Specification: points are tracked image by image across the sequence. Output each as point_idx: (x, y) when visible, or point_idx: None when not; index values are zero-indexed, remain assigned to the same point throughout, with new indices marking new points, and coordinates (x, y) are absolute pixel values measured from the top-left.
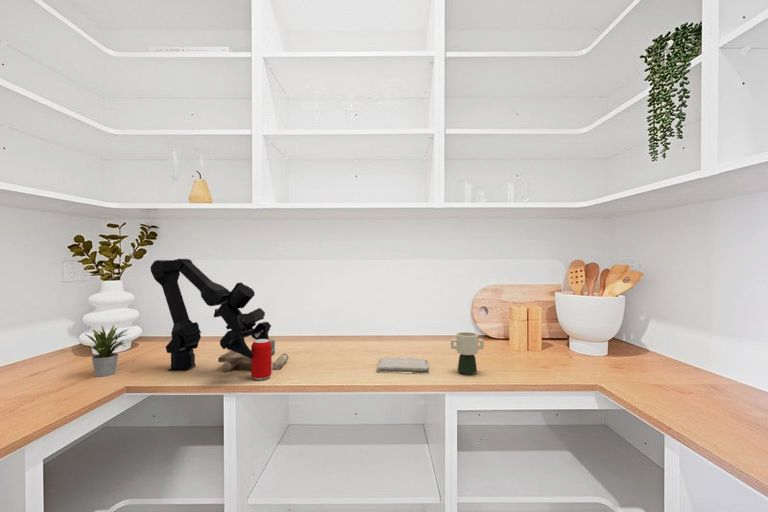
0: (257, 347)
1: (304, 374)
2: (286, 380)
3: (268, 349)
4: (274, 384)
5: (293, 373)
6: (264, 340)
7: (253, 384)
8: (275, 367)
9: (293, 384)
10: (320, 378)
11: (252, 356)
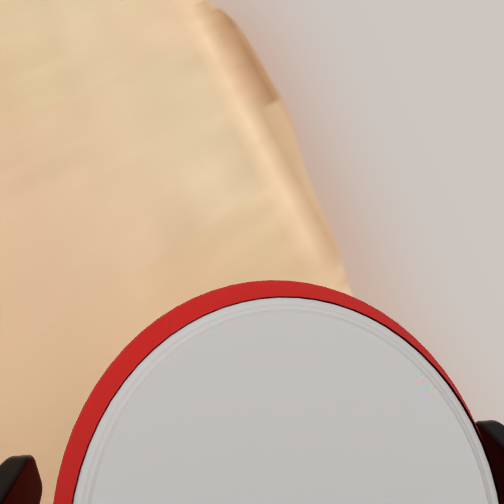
0: (467, 412)
1: (63, 193)
2: (220, 229)
3: (282, 296)
4: (319, 252)
5: (60, 276)
6: (263, 414)
7: None
8: None
9: (267, 151)
10: (114, 75)
11: (499, 425)
